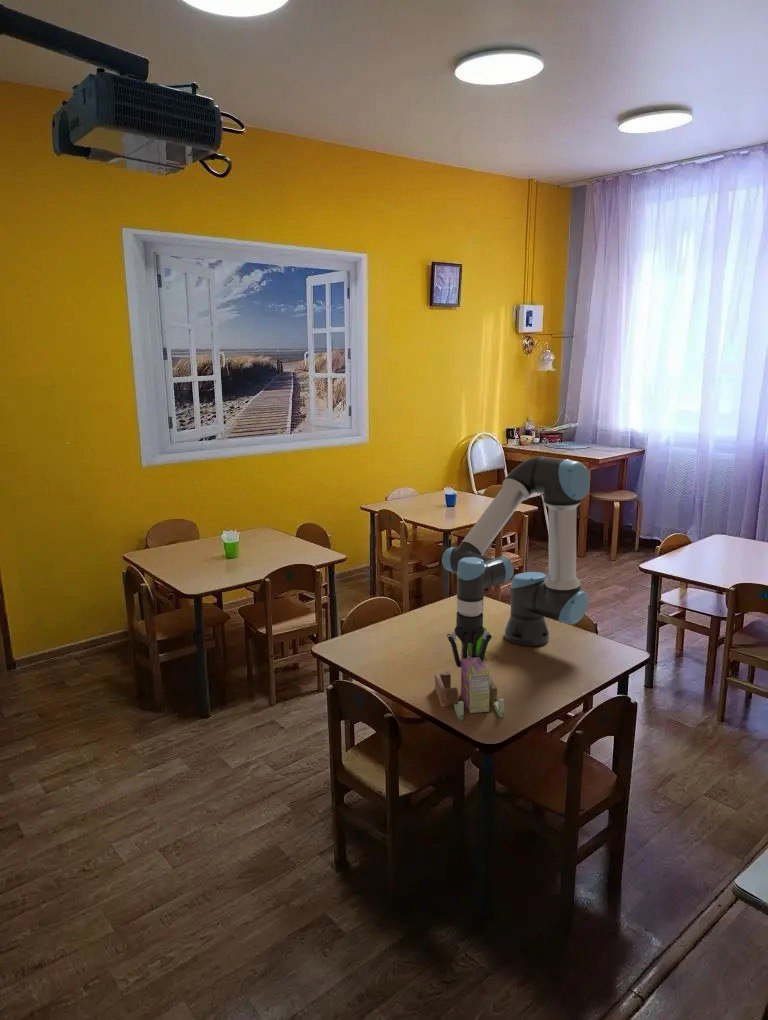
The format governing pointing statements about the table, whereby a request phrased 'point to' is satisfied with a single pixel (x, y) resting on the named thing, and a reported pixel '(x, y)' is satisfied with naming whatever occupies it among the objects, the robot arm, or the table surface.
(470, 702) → the box
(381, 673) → the table surface
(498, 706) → the kerbs
